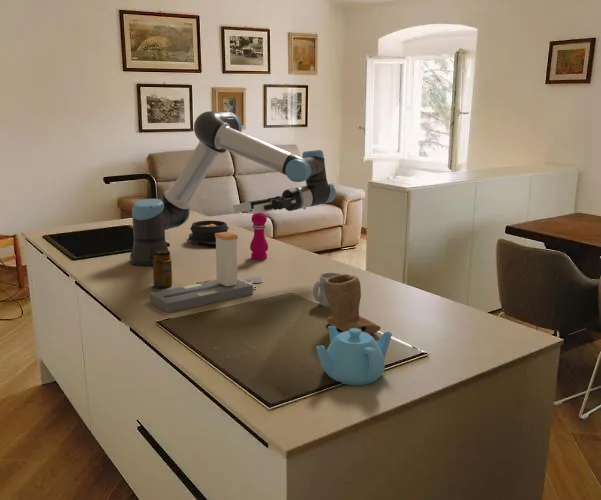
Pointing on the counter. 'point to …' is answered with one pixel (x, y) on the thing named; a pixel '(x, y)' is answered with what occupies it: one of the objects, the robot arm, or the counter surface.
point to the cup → (322, 289)
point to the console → (198, 295)
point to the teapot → (354, 356)
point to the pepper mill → (259, 237)
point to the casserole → (206, 231)
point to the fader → (226, 258)
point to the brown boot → (346, 304)
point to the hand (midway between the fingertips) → (243, 209)
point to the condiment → (162, 271)
